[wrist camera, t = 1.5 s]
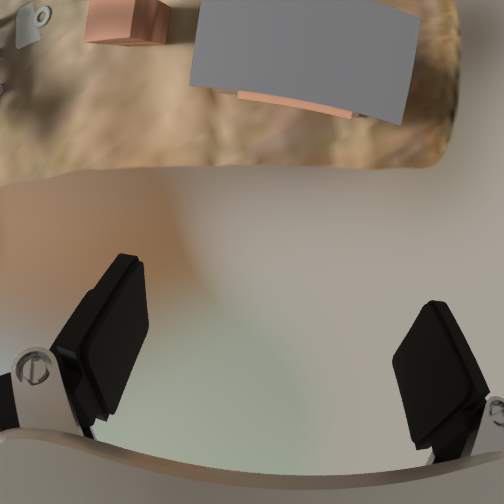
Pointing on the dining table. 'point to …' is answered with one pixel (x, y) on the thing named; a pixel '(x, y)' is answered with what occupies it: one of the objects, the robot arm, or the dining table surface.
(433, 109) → the dining table surface
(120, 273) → the robot arm
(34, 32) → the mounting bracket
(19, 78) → the dining table surface
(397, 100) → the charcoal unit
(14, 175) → the dining table surface
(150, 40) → the terracotta block
